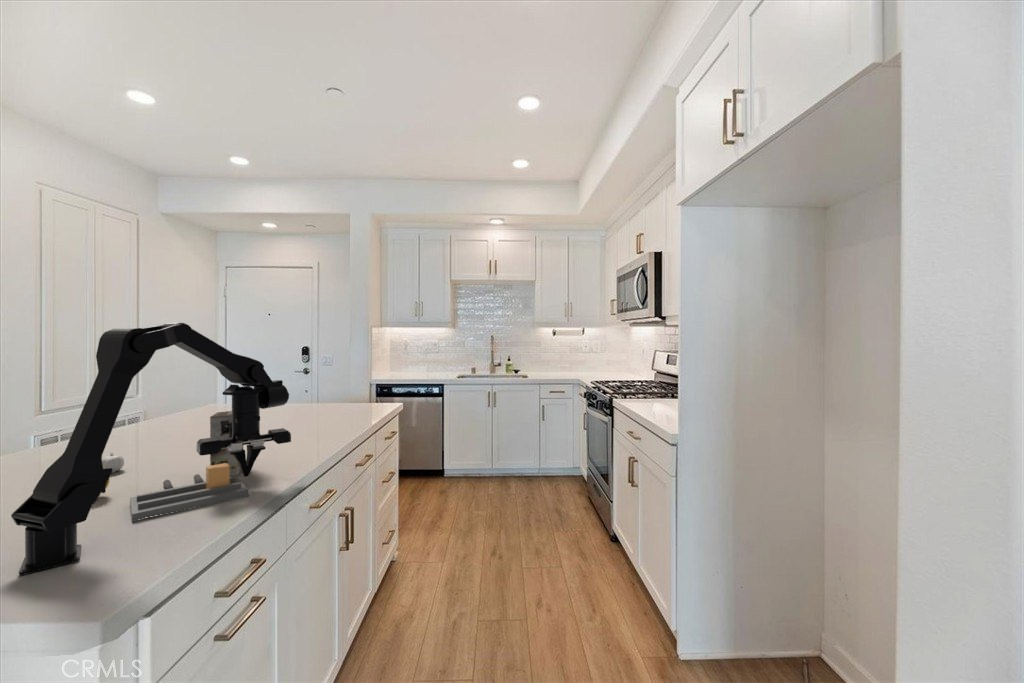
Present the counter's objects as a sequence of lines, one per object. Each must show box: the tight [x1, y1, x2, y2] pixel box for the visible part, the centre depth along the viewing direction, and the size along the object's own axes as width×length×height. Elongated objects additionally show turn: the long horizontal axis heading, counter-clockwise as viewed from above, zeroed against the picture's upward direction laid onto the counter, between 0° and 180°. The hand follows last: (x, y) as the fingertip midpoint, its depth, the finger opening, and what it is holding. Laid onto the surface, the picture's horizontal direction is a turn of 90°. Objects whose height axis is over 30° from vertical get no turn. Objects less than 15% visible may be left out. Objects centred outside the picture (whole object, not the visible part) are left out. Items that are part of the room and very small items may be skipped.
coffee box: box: [209, 410, 244, 477], centre depth 115 cm, size 9×6×16 cm
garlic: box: [102, 452, 125, 473], centre depth 115 cm, size 6×5×5 cm
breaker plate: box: [129, 476, 250, 522], centre depth 95 cm, size 12×20×2 cm, turn 133°
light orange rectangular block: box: [205, 463, 231, 489], centre depth 98 cm, size 3×4×5 cm
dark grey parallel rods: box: [162, 473, 205, 490], centre depth 103 cm, size 11×7×1 cm
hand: (246, 476), depth 102 cm, fingers closed
